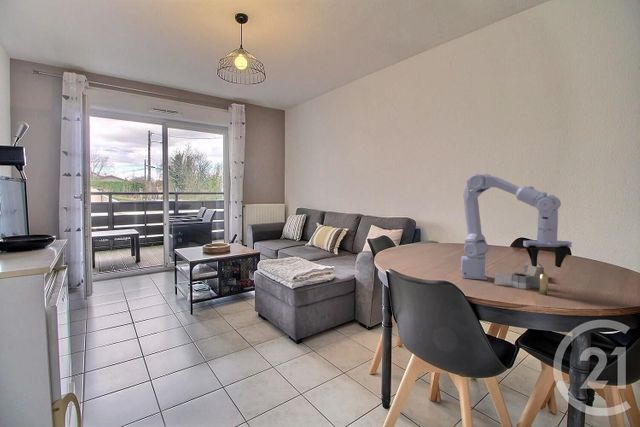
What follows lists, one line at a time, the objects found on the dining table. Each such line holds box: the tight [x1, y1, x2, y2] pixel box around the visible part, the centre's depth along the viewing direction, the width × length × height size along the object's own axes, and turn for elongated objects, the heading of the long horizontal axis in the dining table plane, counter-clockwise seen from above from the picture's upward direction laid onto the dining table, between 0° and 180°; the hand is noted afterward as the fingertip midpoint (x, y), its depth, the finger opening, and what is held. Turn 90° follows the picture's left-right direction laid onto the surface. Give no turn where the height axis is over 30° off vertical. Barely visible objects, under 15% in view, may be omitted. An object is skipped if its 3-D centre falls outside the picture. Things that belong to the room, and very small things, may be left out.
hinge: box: [493, 272, 540, 290], centre depth 116 cm, size 17×6×4 cm, turn 69°
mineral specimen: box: [521, 261, 546, 276], centre depth 128 cm, size 13×7×6 cm, turn 172°
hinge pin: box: [538, 273, 549, 296], centre depth 108 cm, size 2×2×7 cm
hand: (546, 266), depth 109 cm, fingers open, 7 cm apart
